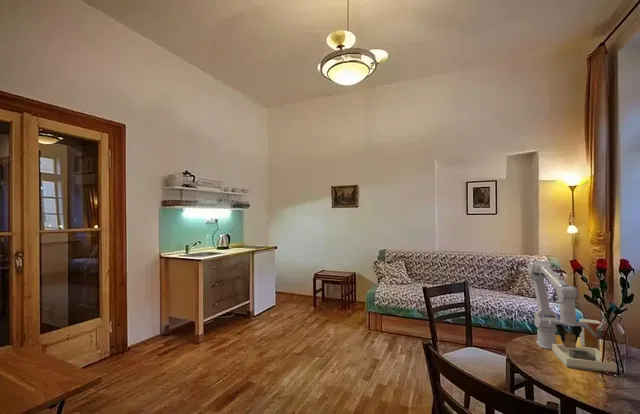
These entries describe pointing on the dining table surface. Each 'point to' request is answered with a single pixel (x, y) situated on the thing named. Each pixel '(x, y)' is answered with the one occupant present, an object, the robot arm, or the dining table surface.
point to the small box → (589, 333)
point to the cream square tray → (582, 358)
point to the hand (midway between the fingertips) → (568, 341)
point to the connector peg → (569, 339)
